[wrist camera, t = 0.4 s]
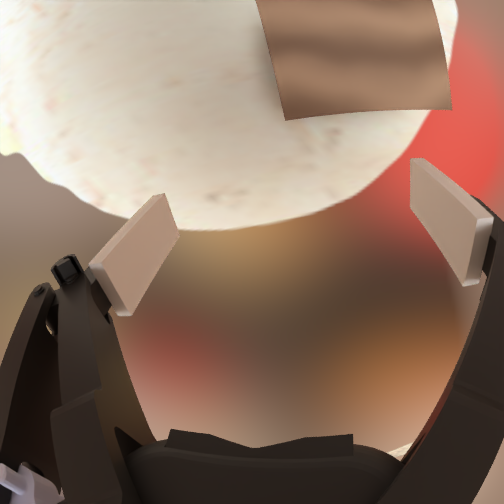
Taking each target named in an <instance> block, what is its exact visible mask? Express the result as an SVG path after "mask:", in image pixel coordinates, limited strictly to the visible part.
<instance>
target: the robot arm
mask: <svg viewBox="0 0 504 504" xmlns="http://www.w3.org/2000/svg"><path fill="white" fill-rule="evenodd" d="M410 179H411V181H410V183H411V184H410V185H411V186H410V187H411V190H410V208H411V209H412V211H413V212H414V213H415V214H416V216H417V217H418V219H419V220H420V222H421V223H422V224H423V226H424V227H425V228H426V230H427V231H428V233H429V234H430V236H431V237H432V238H433V240H434V241H435V243H436V244H437V246H438V247H439V249H440V250H441V252H442V253H443V255H444V256H445V258H446V260H447V261H448V263H449V264H450V266H451V268H452V269H453V271H454V272H455V274H456V276H457V277H458V279H459V281H460V282H461V284H462V286H469V285H473V284H478V283H479V280H480V277H481V273H482V270H483V271H484V273H485V274H486V276H487V279H486V282H485V285H484V288H483V291H482V295H481V297H480V303H479V306H478V309H477V312H476V315H475V318H474V321H473V324H472V327H471V330H470V332H469V335H468V337H467V340H466V343H465V345H464V348H463V350H462V353H461V355H460V357H459V360H458V362H457V364H456V366H455V369H454V371H453V373H452V375H451V378H450V379H449V382H448V384H447V386H446V388H445V390H444V392H443V394H442V396H441V398H440V399H439V401H438V403H437V405H436V407H435V409H434V410H433V412H432V414H431V416H430V417H429V419H428V421H427V423H426V424H425V426H424V428H423V430H422V431H421V432H420V434H419V435H418V437H417V439H416V440H415V441H414V443H413V444H412V446H411V447H410V448H409V450H408V451H407V453H406V454H405V455H404V457H403V458H402V460H401V461H399V460H397V459H396V458H394V457H393V456H391V455H389V454H387V453H385V452H383V451H380V450H378V449H375V448H372V447H368V446H363V445H356V444H353V434H347V435H338V436H326V437H325V436H324V437H307V438H306V437H305V438H301V439H297V440H293V441H289V442H285V443H280V444H275V445H271V446H266V447H260V448H250V447H246V446H243V445H240V444H236V443H234V442H231V441H228V440H225V439H222V438H219V437H216V436H213V435H210V434H203V433H195V432H188V431H181V430H175V429H171V430H170V433H169V436H168V439H166V440H161V441H156V439H155V438H154V436H153V434H152V432H151V430H150V428H149V426H148V423H147V421H146V418H145V416H144V413H143V411H142V408H141V406H140V403H139V401H138V398H137V396H136V393H135V390H134V387H133V385H132V382H131V379H130V376H129V373H128V370H127V367H126V364H125V361H124V358H123V355H122V352H121V348H120V345H119V342H118V338H117V335H116V331H115V327H114V324H113V320H112V317H111V316H110V314H109V313H108V310H109V308H110V307H111V306H112V307H113V308H114V310H115V312H116V313H117V315H118V316H132V314H133V312H134V310H135V309H136V307H137V305H138V304H139V302H140V300H141V298H142V297H143V295H144V293H145V292H146V290H147V288H148V287H149V285H150V283H151V281H152V280H153V278H154V277H155V275H156V273H157V272H158V270H159V268H160V267H161V265H162V263H163V262H164V260H165V259H166V257H167V255H168V254H169V252H170V251H171V249H172V248H173V246H174V244H175V243H176V241H177V240H178V238H179V236H180V235H179V232H178V229H177V226H176V224H175V221H174V218H173V215H172V213H171V210H170V207H169V204H168V201H167V198H166V196H165V193H163V194H159V195H155V196H152V197H151V198H150V199H149V200H148V201H147V202H146V203H145V204H144V205H143V206H142V207H141V208H140V209H139V210H138V211H137V212H136V213H135V214H134V215H133V216H132V217H131V218H130V219H129V220H128V221H127V222H126V224H125V225H124V226H123V227H122V228H121V229H120V230H119V231H118V232H117V233H116V234H115V235H114V236H113V237H112V238H111V240H109V242H108V243H107V244H106V245H105V246H104V247H103V248H102V249H101V251H99V253H98V254H97V255H96V256H95V257H94V258H93V259H92V261H91V262H90V263H89V264H88V265H89V267H88V268H87V269H86V270H85V271H83V269H82V267H81V265H80V263H79V261H78V260H77V258H76V256H75V254H70V255H67V256H65V257H63V258H62V259H60V260H59V261H57V262H56V263H55V264H54V265H53V267H52V268H51V272H52V273H53V275H54V277H55V279H56V280H57V282H58V283H59V285H60V289H58V290H55V291H54V290H53V289H52V287H51V285H50V284H49V283H43V284H41V285H38V286H37V287H35V288H34V290H33V291H32V293H31V294H30V296H29V298H28V300H27V302H26V304H25V306H24V308H23V310H22V313H21V315H20V317H19V320H18V322H17V324H16V327H15V329H14V331H13V334H12V336H11V339H10V342H9V344H8V347H7V349H6V352H5V355H4V358H3V360H2V364H1V366H0V504H471V503H472V502H473V500H474V498H475V497H476V495H477V493H478V491H479V490H480V488H481V486H482V484H483V482H484V480H485V478H486V476H487V474H488V472H489V470H490V468H491V466H492V464H493V462H494V460H495V457H496V455H497V453H498V450H499V448H500V445H501V443H502V441H503V438H504V222H503V221H502V220H501V219H500V218H499V217H498V216H497V215H496V214H495V213H494V212H493V211H491V210H490V209H489V208H488V207H487V206H486V205H485V204H484V203H483V202H482V201H481V200H479V199H478V198H476V197H474V196H472V195H469V194H468V193H467V192H466V191H464V190H463V189H462V188H461V187H460V186H458V185H457V184H456V183H455V182H454V181H452V180H451V179H450V178H449V177H447V176H446V175H445V174H444V173H442V172H441V171H440V170H438V169H437V168H436V167H434V166H433V165H432V164H430V163H429V162H428V161H426V160H425V159H424V158H413V159H410ZM46 325H47V326H48V327H49V329H50V330H51V331H52V335H51V334H50V332H49V331H48V329H47V327H46ZM21 463H22V465H21ZM61 487H62V490H63V494H64V497H63V496H61V495H60V492H61Z"/></svg>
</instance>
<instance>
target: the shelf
mask: <svg viewBox="0 0 504 504" xmlns="http://www.w3.org/2000/svg"><path fill="white" fill-rule="evenodd" d="M256 3H257V7H258V10H259V14H260V18H261V21H262V25H263V29H264V32H265V36H266V40H267V44H268V48H269V52H270V56H271V60H272V64H273V68H274V72H275V77H276V81H277V85H278V90H279V94H280V99H281V103H282V108H283V113H284V117H285V121H286V120H293V119H300V118H307V117H315V116H323V115H332V114H341V113H353V112H366V111H383V110H452V103H451V93H450V84H449V77H448V69H447V63H446V57H445V52H444V47H443V42H442V37H441V33H440V28H439V24H438V20H437V16H436V13H435V9H434V6H433V2H432V0H256Z"/></svg>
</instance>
